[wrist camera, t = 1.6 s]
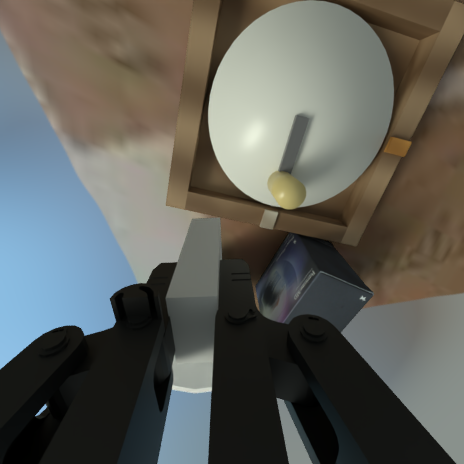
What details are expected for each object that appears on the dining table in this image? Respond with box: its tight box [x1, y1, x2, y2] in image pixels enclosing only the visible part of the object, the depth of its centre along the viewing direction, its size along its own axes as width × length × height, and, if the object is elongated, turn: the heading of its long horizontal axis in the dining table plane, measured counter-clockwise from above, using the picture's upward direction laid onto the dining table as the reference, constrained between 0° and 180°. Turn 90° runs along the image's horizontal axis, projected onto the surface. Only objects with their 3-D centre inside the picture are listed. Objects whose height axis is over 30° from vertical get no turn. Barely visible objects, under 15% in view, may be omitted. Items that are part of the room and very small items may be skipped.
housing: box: [166, 0, 464, 246], centre depth 24 cm, size 22×22×4 cm
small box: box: [255, 232, 374, 333], centre depth 28 cm, size 11×6×10 cm, turn 155°
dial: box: [208, 0, 394, 209], centre depth 21 cm, size 17×17×6 cm
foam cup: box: [172, 355, 213, 393], centre depth 27 cm, size 10×9×13 cm
